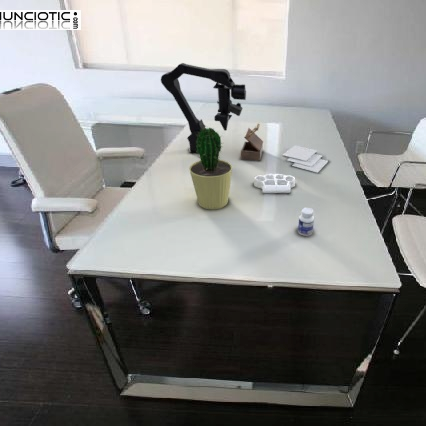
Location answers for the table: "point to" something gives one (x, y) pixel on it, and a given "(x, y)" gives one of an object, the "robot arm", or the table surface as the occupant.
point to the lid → (254, 138)
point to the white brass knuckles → (274, 183)
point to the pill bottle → (306, 222)
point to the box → (250, 152)
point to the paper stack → (305, 158)
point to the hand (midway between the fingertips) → (225, 130)
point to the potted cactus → (210, 172)
